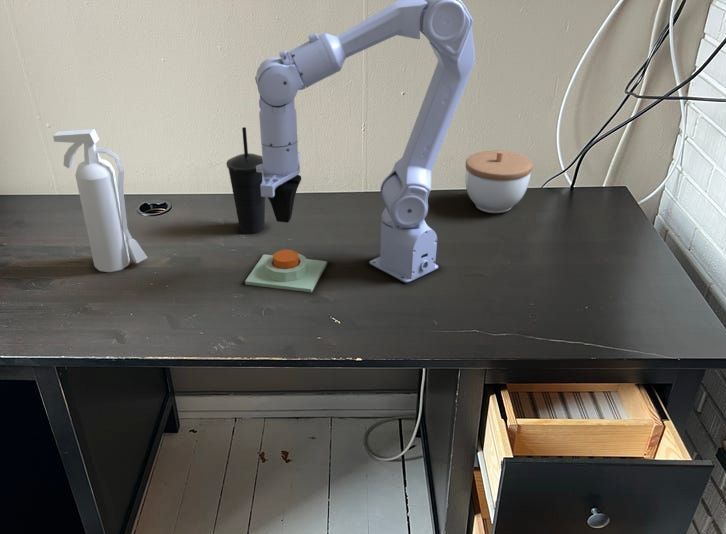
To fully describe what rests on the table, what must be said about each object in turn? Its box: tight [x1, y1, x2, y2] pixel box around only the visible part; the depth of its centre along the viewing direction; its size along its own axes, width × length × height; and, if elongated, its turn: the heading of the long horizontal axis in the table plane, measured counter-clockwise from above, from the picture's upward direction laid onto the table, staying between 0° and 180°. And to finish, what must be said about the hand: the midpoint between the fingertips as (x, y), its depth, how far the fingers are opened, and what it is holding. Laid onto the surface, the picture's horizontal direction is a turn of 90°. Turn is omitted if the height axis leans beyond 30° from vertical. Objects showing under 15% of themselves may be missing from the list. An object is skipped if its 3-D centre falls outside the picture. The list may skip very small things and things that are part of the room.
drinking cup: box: [225, 126, 266, 235], centre depth 139 cm, size 8×8×20 cm
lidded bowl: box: [464, 149, 534, 214], centre depth 145 cm, size 13×13×11 cm
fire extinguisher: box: [52, 128, 149, 273], centre depth 128 cm, size 7×12×25 cm, turn 77°
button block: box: [244, 253, 328, 293], centre depth 129 cm, size 12×10×2 cm
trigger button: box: [272, 249, 299, 269], centre depth 128 cm, size 4×4×2 cm
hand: (283, 220), depth 123 cm, fingers closed
